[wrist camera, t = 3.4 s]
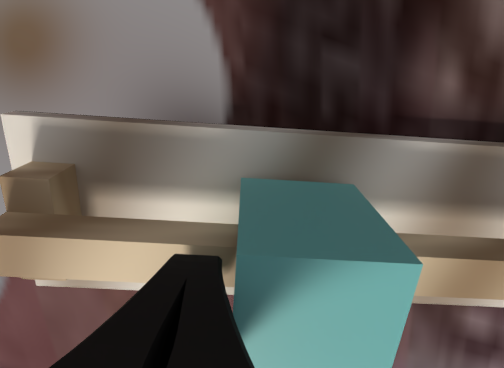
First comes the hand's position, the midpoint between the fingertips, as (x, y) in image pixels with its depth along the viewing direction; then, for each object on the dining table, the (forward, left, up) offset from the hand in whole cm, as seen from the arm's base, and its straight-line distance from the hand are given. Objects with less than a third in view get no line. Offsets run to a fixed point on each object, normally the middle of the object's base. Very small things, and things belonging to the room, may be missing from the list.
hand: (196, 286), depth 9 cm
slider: (-3, 0, -3) cm, 5 cm away
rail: (-3, 0, -5) cm, 6 cm away
